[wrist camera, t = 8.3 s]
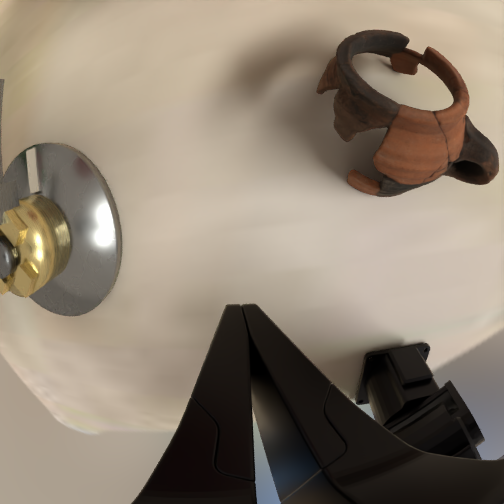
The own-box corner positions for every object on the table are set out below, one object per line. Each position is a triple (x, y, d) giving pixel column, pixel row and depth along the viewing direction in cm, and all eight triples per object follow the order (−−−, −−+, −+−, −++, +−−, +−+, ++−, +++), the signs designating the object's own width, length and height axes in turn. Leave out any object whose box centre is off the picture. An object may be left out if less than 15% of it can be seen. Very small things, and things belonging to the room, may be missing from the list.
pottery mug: (300, 184, 18) (297, 103, 10) (332, 86, 20) (337, 5, 12) (460, 242, 16) (534, 203, 8) (465, 136, 17) (510, 76, 9)
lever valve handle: (78, 278, 19) (30, 317, 13) (25, 276, 20) (-19, 307, 14) (60, 73, 14) (2, 60, 8) (6, 101, 15) (-46, 100, 9)
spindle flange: (89, 339, 23) (53, 383, 17) (-6, 249, 21) (-49, 272, 15) (156, 207, 19) (106, 233, 12) (31, 114, 17) (-27, 114, 10)
